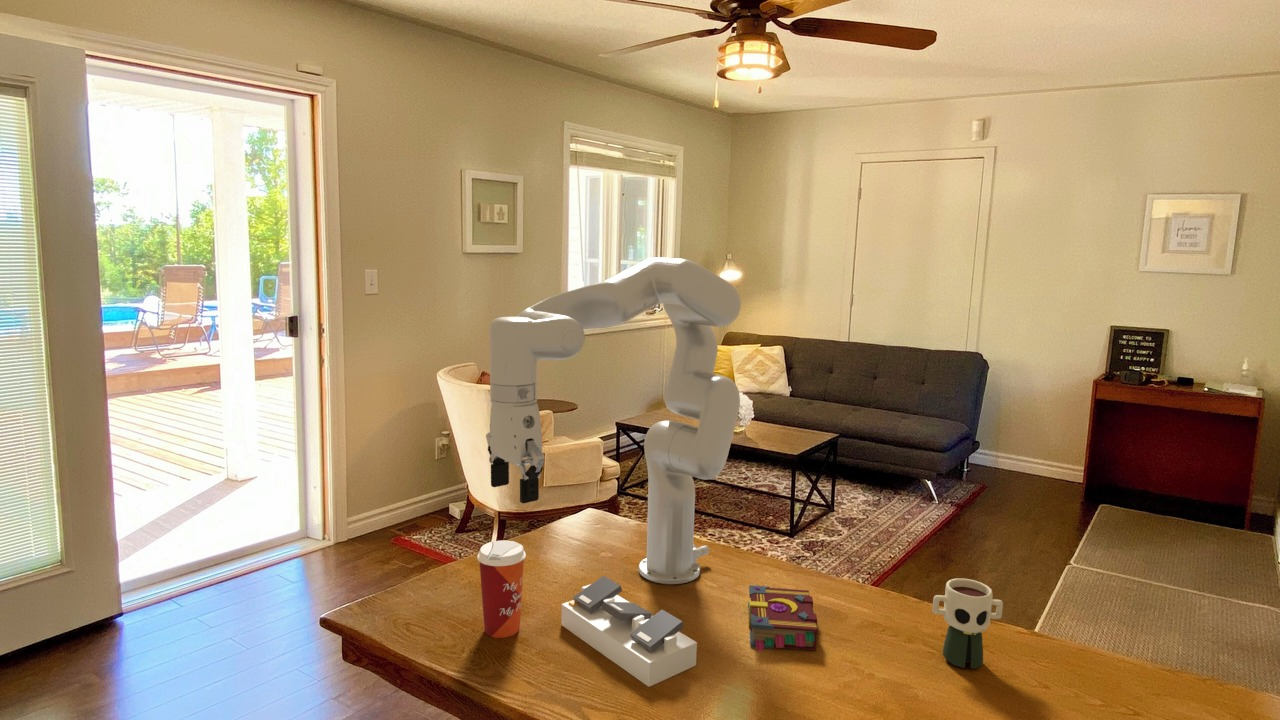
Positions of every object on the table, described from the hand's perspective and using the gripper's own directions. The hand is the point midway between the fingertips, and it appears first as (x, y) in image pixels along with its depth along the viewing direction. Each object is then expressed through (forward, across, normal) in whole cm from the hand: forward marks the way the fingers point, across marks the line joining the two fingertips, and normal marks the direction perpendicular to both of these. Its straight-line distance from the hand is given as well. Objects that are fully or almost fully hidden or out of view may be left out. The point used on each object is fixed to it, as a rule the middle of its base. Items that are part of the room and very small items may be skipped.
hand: (514, 493), depth 130 cm
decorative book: (+26, -26, -39) cm, 54 cm away
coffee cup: (+26, +3, +1) cm, 26 cm away
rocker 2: (+20, -22, -14) cm, 32 cm away
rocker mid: (+20, -14, -14) cm, 28 cm away
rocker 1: (+20, -6, -13) cm, 25 cm away
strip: (+25, -12, -13) cm, 31 cm away
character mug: (+26, -51, -55) cm, 79 cm away
